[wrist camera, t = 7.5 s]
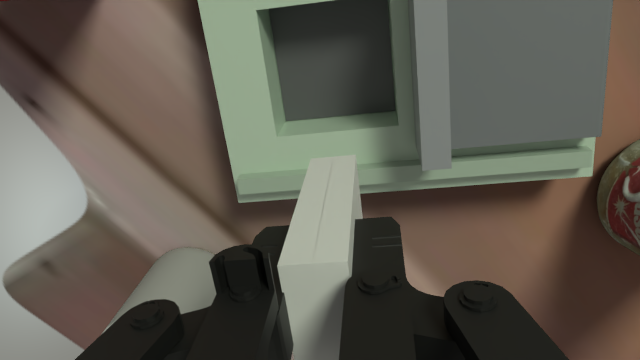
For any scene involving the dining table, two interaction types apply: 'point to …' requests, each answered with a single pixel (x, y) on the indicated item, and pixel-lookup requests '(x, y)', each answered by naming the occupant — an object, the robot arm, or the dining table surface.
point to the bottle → (622, 198)
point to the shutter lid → (506, 72)
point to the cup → (176, 282)
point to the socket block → (341, 101)
